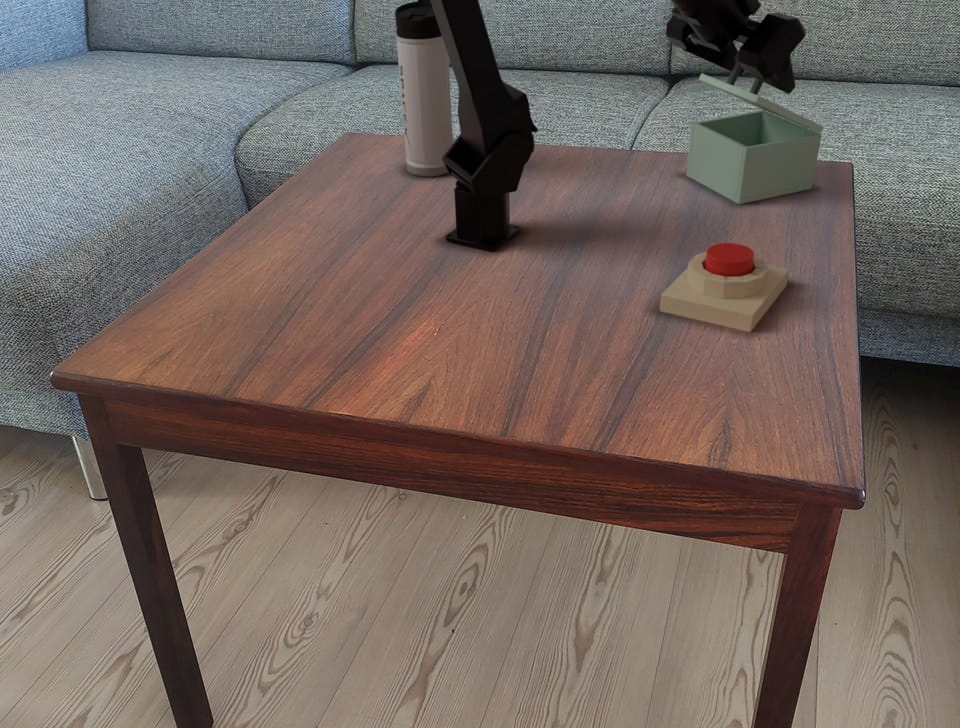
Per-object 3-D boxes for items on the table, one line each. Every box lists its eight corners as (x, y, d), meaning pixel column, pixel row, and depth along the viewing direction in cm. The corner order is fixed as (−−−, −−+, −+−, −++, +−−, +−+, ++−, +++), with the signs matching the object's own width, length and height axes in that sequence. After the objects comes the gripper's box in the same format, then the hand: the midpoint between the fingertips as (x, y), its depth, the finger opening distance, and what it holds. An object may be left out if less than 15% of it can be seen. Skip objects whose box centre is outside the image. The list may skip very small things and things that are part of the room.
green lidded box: (738, 204, 110) (746, 148, 106) (685, 175, 119) (691, 122, 115) (811, 189, 114) (822, 134, 110) (755, 161, 122) (763, 109, 118)
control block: (750, 332, 86) (755, 298, 84) (659, 311, 90) (662, 277, 88) (786, 285, 93) (792, 252, 91) (700, 267, 97) (704, 236, 95)
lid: (755, 103, 104) (777, 59, 102) (698, 79, 112) (717, 38, 110) (821, 133, 110) (842, 92, 108) (762, 109, 118) (781, 71, 116)
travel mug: (458, 160, 126) (451, -3, 114) (449, 177, 121) (439, 9, 109) (413, 159, 127) (401, -2, 115) (402, 176, 122) (388, 9, 110)
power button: (742, 282, 87) (745, 265, 86) (697, 273, 89) (699, 256, 88) (757, 264, 90) (760, 248, 89) (714, 256, 92) (716, 239, 91)
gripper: (807, -70, 91) (872, 38, 100) (698, -89, 104) (764, 8, 114) (729, 27, 93) (799, 123, 103) (632, -4, 107) (703, 84, 117)
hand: (766, 80), depth 109 cm, fingers open, 9 cm apart
